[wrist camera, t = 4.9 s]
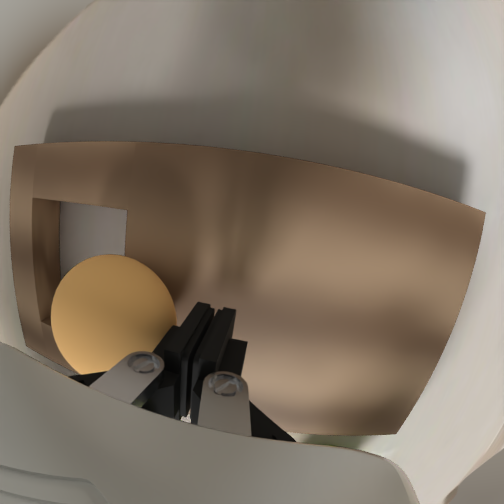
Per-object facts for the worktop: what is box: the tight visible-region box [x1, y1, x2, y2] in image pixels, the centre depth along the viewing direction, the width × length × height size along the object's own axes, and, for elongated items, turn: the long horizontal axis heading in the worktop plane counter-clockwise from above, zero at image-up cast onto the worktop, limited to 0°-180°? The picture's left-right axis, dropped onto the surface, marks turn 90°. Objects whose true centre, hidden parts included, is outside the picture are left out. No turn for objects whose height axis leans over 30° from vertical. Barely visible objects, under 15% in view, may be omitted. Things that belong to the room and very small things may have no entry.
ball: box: [51, 254, 177, 375], centre depth 11 cm, size 6×6×6 cm
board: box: [10, 141, 486, 436], centre depth 16 cm, size 16×30×3 cm, turn 81°
